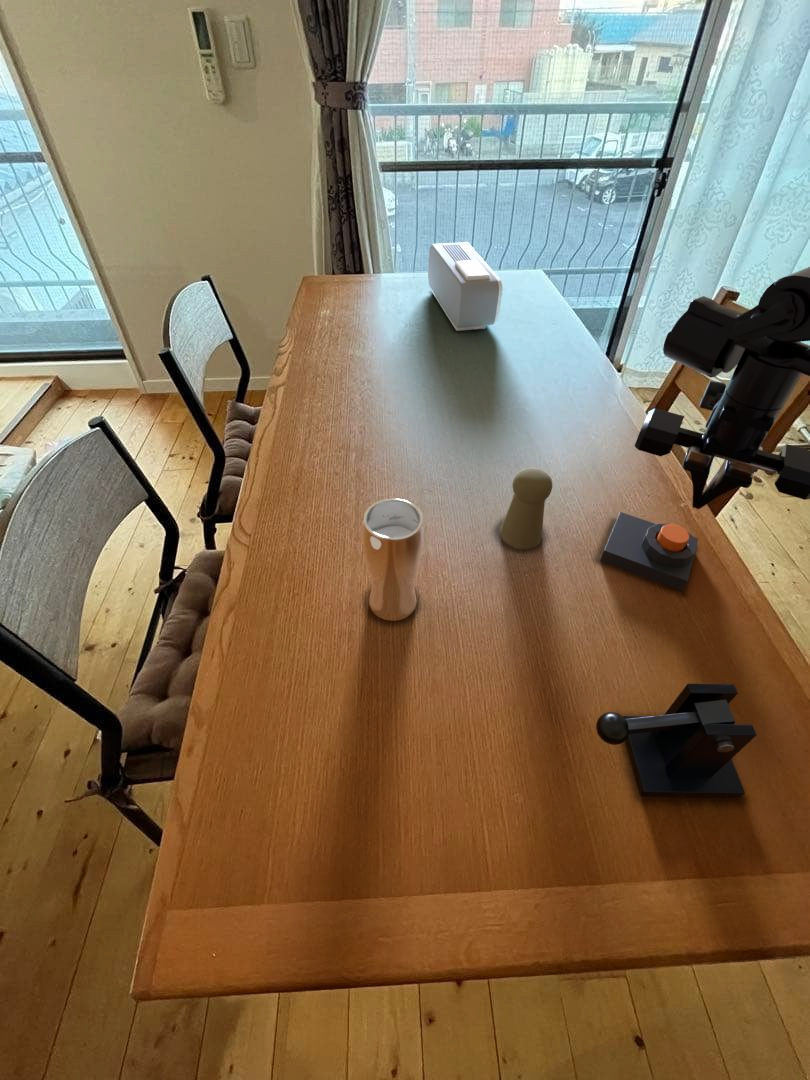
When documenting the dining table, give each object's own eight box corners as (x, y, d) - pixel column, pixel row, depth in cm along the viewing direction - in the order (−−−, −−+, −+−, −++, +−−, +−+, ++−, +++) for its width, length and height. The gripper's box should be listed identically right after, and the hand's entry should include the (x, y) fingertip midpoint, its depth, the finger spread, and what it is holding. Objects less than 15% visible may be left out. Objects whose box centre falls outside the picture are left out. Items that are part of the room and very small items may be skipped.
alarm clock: (497, 333, 125) (504, 278, 117) (457, 336, 124) (462, 281, 115) (461, 285, 144) (466, 235, 135) (427, 288, 142) (429, 237, 133)
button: (686, 538, 75) (691, 529, 74) (682, 555, 73) (687, 546, 72) (659, 529, 77) (664, 520, 75) (654, 545, 74) (658, 536, 73)
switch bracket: (640, 796, 55) (681, 750, 47) (619, 720, 61) (653, 668, 53) (740, 797, 55) (797, 752, 47) (710, 722, 61) (756, 670, 53)
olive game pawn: (549, 542, 79) (567, 484, 72) (512, 553, 78) (526, 494, 70) (528, 515, 83) (542, 457, 75) (492, 525, 82) (503, 466, 74)
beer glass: (359, 589, 73) (353, 504, 62) (408, 575, 75) (411, 491, 64) (375, 630, 68) (373, 547, 58) (428, 615, 70) (434, 531, 59)
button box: (692, 548, 79) (703, 529, 76) (681, 591, 74) (693, 572, 71) (615, 522, 83) (623, 502, 80) (599, 561, 77) (607, 541, 74)
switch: (600, 751, 54) (599, 738, 51) (593, 722, 56) (592, 708, 54) (733, 738, 51) (738, 724, 49) (720, 708, 53) (725, 693, 51)
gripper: (855, 384, 60) (782, 494, 71) (676, 343, 66) (635, 449, 77) (857, 437, 53) (776, 549, 64) (657, 385, 59) (615, 495, 70)
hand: (696, 506), depth 69 cm, fingers closed
